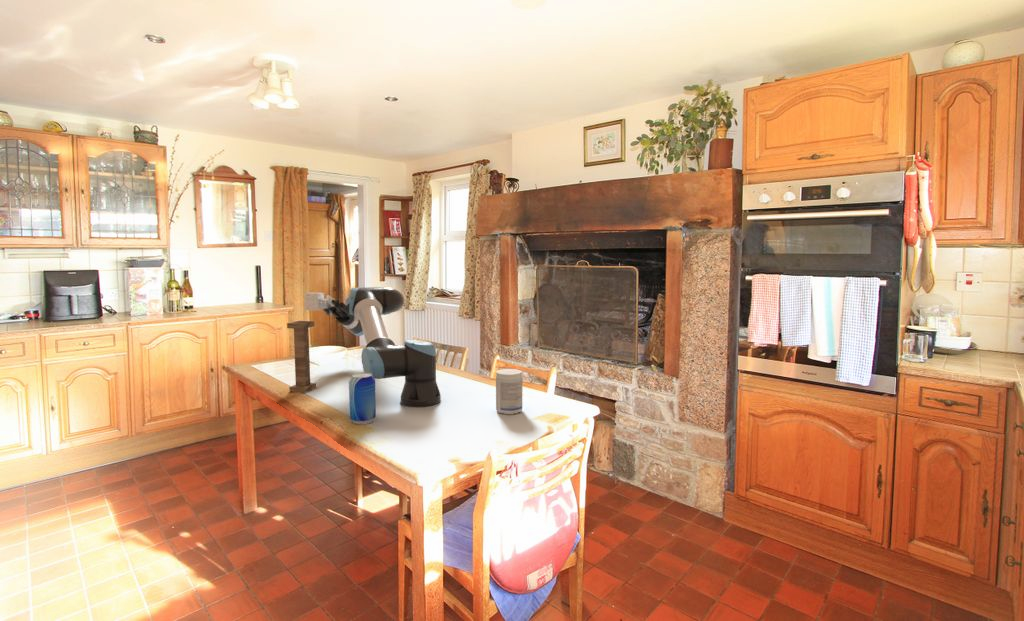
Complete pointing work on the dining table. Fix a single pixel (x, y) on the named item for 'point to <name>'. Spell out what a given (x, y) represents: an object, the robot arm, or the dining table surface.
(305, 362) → the walnut stand
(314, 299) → the grey block
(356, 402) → the beer can
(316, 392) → the dining table surface
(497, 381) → the supplement tub
